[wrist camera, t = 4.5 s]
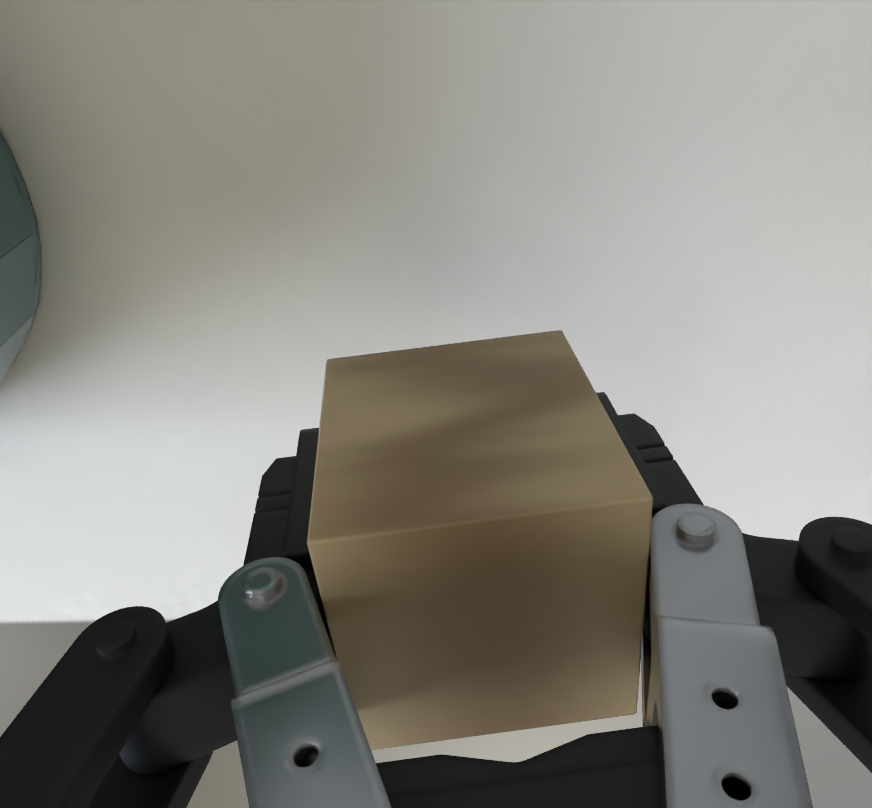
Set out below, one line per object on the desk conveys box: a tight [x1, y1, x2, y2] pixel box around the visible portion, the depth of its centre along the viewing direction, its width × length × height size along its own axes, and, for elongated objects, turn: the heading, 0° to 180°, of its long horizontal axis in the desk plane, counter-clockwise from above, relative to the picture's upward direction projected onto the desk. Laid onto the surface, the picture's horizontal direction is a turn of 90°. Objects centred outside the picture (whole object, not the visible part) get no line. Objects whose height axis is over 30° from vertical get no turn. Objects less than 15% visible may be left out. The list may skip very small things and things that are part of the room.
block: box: [307, 330, 653, 750], centre depth 12 cm, size 4×4×5 cm
